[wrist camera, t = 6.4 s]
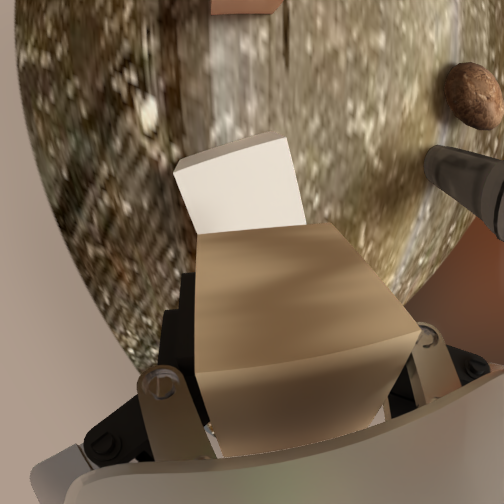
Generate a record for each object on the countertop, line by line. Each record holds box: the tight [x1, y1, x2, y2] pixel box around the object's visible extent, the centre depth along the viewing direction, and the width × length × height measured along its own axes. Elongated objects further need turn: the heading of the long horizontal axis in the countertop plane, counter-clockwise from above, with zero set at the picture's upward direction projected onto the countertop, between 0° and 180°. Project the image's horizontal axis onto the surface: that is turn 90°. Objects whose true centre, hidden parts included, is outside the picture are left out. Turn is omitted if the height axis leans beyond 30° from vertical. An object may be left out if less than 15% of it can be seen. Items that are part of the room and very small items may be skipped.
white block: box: [173, 131, 306, 235], centre depth 23 cm, size 8×8×5 cm
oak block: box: [195, 223, 421, 457], centre depth 9 cm, size 5×5×6 cm
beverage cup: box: [424, 145, 504, 242], centre depth 17 cm, size 7×7×20 cm
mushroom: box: [444, 62, 504, 130], centre depth 20 cm, size 8×8×6 cm
